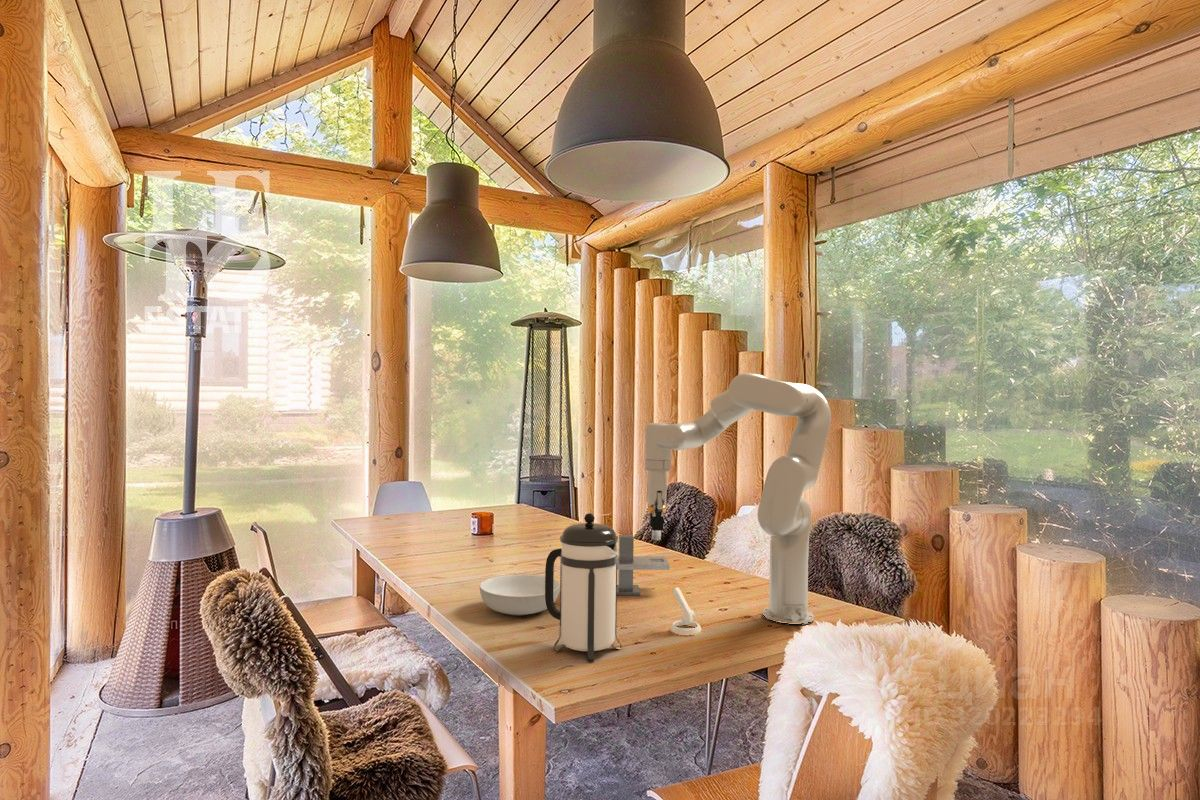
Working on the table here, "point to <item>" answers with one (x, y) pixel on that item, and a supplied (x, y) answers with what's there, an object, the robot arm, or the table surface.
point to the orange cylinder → (656, 533)
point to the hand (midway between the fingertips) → (656, 528)
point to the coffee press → (585, 587)
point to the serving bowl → (516, 593)
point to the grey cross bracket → (634, 565)
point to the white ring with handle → (684, 616)
